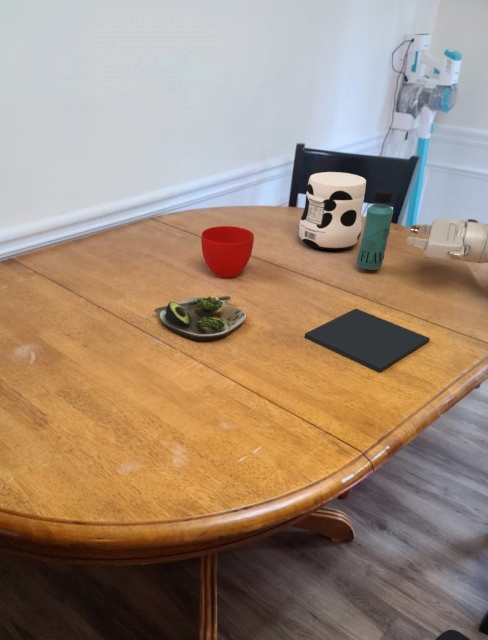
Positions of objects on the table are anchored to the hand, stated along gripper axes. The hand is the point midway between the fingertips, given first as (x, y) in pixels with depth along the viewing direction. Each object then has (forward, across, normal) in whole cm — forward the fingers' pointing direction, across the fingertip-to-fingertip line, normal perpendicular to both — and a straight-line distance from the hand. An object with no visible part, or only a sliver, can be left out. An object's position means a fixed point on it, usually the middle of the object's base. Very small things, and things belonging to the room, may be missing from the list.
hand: (409, 233), depth 138 cm
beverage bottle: (+8, 0, -11) cm, 14 cm away
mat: (+2, -38, -11) cm, 39 cm away
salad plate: (+36, -45, -11) cm, 59 cm away
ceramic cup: (+41, -15, -11) cm, 45 cm away
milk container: (+22, +16, -11) cm, 29 cm away
